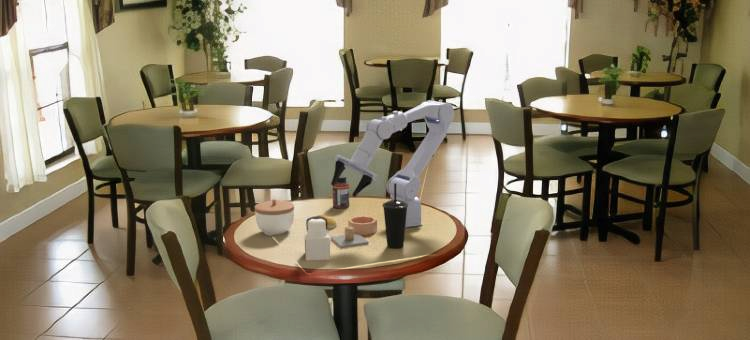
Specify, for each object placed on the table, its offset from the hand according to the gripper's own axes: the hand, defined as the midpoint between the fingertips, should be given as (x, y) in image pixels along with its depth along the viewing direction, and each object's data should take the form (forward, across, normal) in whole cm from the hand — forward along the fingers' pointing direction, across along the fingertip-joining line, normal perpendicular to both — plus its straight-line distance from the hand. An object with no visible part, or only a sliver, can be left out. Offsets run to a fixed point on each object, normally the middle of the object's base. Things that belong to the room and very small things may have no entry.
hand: (342, 190), depth 238 cm
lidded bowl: (+21, -15, +12) cm, 28 cm away
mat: (+13, +9, +4) cm, 16 cm away
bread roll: (+11, -4, +18) cm, 22 cm away
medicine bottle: (+22, +6, -7) cm, 24 cm away
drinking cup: (+8, +23, +2) cm, 24 cm away
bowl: (+6, +9, +14) cm, 18 cm away
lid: (+12, +9, +4) cm, 16 cm away
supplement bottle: (-1, -8, +40) cm, 40 cm away
